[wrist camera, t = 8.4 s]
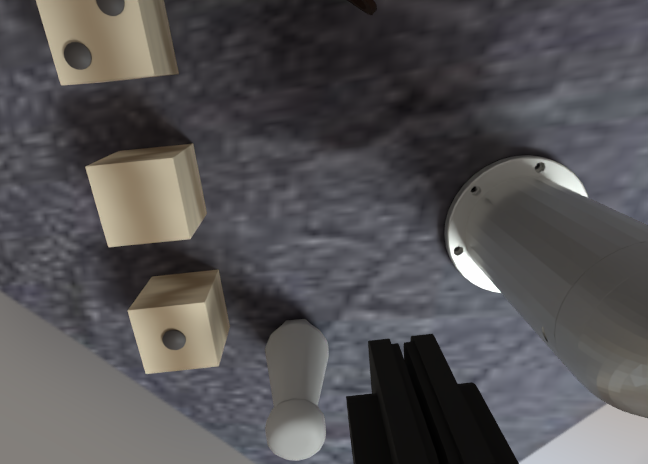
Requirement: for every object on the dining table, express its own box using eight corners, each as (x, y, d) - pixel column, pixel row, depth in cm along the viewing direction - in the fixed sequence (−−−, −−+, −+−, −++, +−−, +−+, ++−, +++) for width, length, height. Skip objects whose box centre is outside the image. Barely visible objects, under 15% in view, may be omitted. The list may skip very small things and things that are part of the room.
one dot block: (218, 269, 40) (204, 303, 34) (229, 326, 42) (218, 367, 36) (152, 276, 40) (126, 311, 34) (166, 332, 42) (144, 375, 36)
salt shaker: (313, 368, 44) (318, 484, 32) (259, 352, 43) (242, 464, 31) (336, 320, 42) (350, 423, 30) (279, 302, 41) (270, 401, 29)
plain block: (193, 143, 36) (172, 157, 30) (207, 213, 38) (190, 238, 32) (119, 150, 36) (85, 166, 30) (137, 220, 38) (108, 247, 32)
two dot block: (161, -15, 32) (129, -33, 26) (179, 74, 34) (153, 75, 28) (77, -6, 32) (27, -22, 26) (101, 82, 34) (59, 85, 28)
